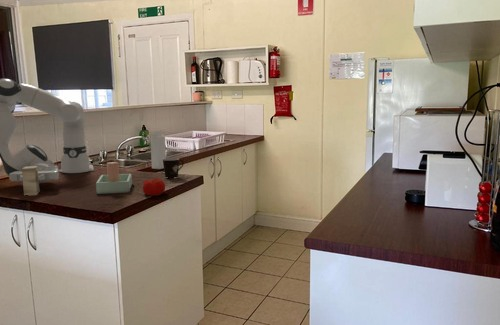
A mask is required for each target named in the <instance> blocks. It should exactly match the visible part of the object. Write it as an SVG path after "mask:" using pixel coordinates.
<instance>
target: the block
mask: <svg viewBox="0 0 500 325" xmlns="http://www.w3.org/2000/svg"><path fill="white" fill-rule="evenodd" d="M36 176H38V167H37V166H30V167H24V168H22V178H23V181H22V186H23V196H25V195H28V196H38V193H39V192H41V191H40V190H41V189H40V183H39V180H36V179H37V178H36ZM39 194H40V193H39ZM25 197H26V196H25Z"/></svg>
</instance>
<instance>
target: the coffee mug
mask: <svg viewBox="0 0 500 325" xmlns="http://www.w3.org/2000/svg"><path fill="white" fill-rule="evenodd" d="M180 162H182V164H181V166H180ZM163 165H164V168H163V172H164V177H168V178H174V177H178V178H179V171H180V170H181V169H182V168H183V167H184V160H182V159H180V158H178V157H166V158H164V159H163Z"/></svg>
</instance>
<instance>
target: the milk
mask: <svg viewBox="0 0 500 325" xmlns="http://www.w3.org/2000/svg"><path fill="white" fill-rule="evenodd" d="M150 154H151V158H150V159H151V169H155V170H162V169H163V170H164V165H163V159H164V158H167V157H166V156H167V154H166V136H165V135H164V134H163V133H162V130H154V131H153V134H152V135H151V136H150Z"/></svg>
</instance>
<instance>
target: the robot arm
mask: <svg viewBox="0 0 500 325" xmlns="http://www.w3.org/2000/svg"><path fill="white" fill-rule="evenodd" d="M17 103H20V104H24V105H25V106H28V107H30V108H32V109H36V110H38V111H40V112H43V113H46V114H48V115H50V116H52V117H55V118H56V119H59V120H61V121H62V123H63V124H62V125H63V126H62V127H63V128H62V139H63V147H62V153H63V155H62V156H61V157H60V161H61V162H60V165H61V167H60V169H59V165H55V163H54V162H53V161H52V160H50V159H48V155H47V154H46V152H45V151H44V150H43V149H41V148H40V147H39V146H37V145H34V144H33V145H32V144H28V145H25V146H24V147H23V148H22V149H21V150H19V152H17V153H16V154H15V155H14V156H13V155H12V153H11V150H10V148H9V143H10V141H11V138H12V137H13V135H14V134H15V133H16V131H17V128H18V121H17V118H16V117H15V115H14V114H13V113H14V112H15V109H16V105H17ZM84 110H85V109H84V107H83V106H82V105H81V104H80V103H79V102H75V101H70V100H67V99H65V98H62V97H60V96H58V95H56V94H55V93H52V92H50V91H47V90H45V89H42V88H39V87H37V86H35V85H31V84H26V83H21V82H20V83H18V82H16V81H15V80H13V79H11V78H5V77H1V78H0V160H1V163H2V167H3V170H4V172H5V174H6V175H7V176H8V178H9V181H10V182H23V178H22V168H24V167H30V166H37V167H38V176H36V178H37V179H36V180H39V184H40V183H41V184H42V183H43V182H47V181H53V180H54V181H55V180H59V179H60V173H63V174H64V173H65V174H81V173H86V172H91V171H92V172H93V171H95V169H94V165H93V164H91V161H90V156H89V155H88V153H87V146H86V140H85V137H86V136H85V111H84Z"/></svg>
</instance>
